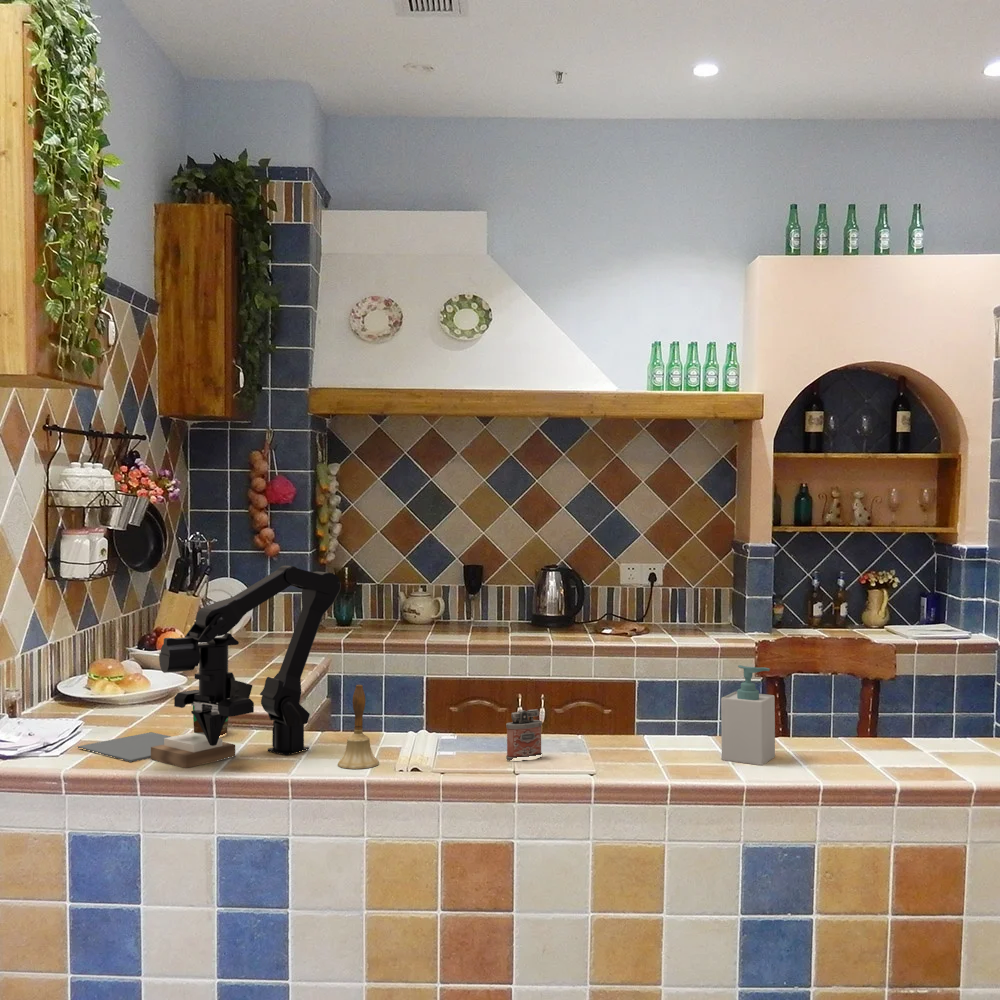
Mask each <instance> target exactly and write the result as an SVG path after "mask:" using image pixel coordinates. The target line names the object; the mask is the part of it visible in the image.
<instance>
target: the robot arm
mask: <svg viewBox="0 0 1000 1000" xmlns="http://www.w3.org/2000/svg"><path fill="white" fill-rule="evenodd" d="M341 585H342V583H341V582H340V579H339V577H338V576H337V575H336V574H335V573H333V572H326V571H325V572H324V571H308V570H304V569H301V568H298V567H296V566H293V565H281V566H280V567H278V568H277V569H276V570H275V571H273V572H272V573H270V574H269V575H266V576H264V578H261V579H260V580H258V581H256V582H255V583H254V584H252V585H250V586H249V587H247V588H246V589H243V590H242V591H240V592H239V593H237V594H236V595H233V596H231V597H229V598H225V599H222V600H219V601H215V602H213V603H210V604H208V605H205V606H203V607H201V608H200V609H199V610H198V611H197V613H196V618H195V622H194V623H193V624H192V625H191V627H190V628H189V630H188V631H187V633H186V634H185V636H184V637H175V638H174V637H164V638H163V644H161V645H162V646H161V648H160V651H159V652H160V653H159V654H158V661H159V666H160V670H161V672H163V673H164V674H166V673H177V672H189V671H194V670H195V668H196V667H198V670H199V671H198V673H197V672H196V673H194V679H195V680H198V689H192V690H191V689H190V690H185V691H179V692H177V694H176V695H175V696H174V698H173V699H174V701H173V703H174V705H173V706H174V707H175V708H181V709H182V708H185V707H186V705H191V704H195V710H194V711H193V710H191V713H190V714H192V715H193V714H194V716H195V718H196V719H197V721H198V723H199V724H200V726H201V728H202V730H203V732H204V734H205V736H206V738H207V740H208V742H209V744H210V745H211V746H215V745H217V742H218V739H219V736H220V733H221V731H222V728H223V725H224V723H225V721H226V719H227V718H228V719H229V718H230V717H237V716H241V715H247V714H252V713H253V714H254V710H255V705H254V704H255V703H254V701H253V700H252V699H251V698H250V696H251V693H252V690H253V687H254V686H253V684H250V683H247V682H243V681H240V680H236V678H235V675H234V674H233V672H231V671H229V646H238V645H240V644H239V640H237V639H236V638H234V637H233V635H232V634H231V633H230V631H231V630H232V629H234V628H235V626H237V625H238V624H239V623H240V622H241V620H243V617H244V616H246V615H247V614H248V613H249V612H250V611H252V610H254V609H255V608H257V607H258V606H260V605H262V604H263V603H265V602H266V601H268V600H269V599H272V597H275V596H277V595H278V594H279V593H281V592H282V591H284V590H285V589H288V588H289V587H290V586H291V587H294V588H297V589H300V590H301V595H300V596H301V611H300V614H299V616H298V618H297V621H296V625H295V627H294V630H293V633H292V635H291V638H290V641H289V644H288V647H287V649H286V651H285V655H284V657H283V661H282V663H281V666H280V669H279V671H278V672H277V673H276V675H274V677H270V676H266V679H265V680H264V681H265V682H264V687H263V689H262V690H261V692H260V693H259V695H260V696H261V699H260V705H261V706H262V708H263V710H264V711H265V712H266V713H267V714H268V717H269V720H271V721H273V723H272V725H273V727H272V736H271V737H272V745H271V746H272V747H269V748H267V752H270V751H271V753H274V752H275V753H276V754H279V753H280V754H279V755H283V754H285V755H284V756H289V755H288V754H290V755H293V754H292V753H294V754H297V753H296V752H298V753H300V752H299V751H302V750H306V749H309V750H310V747H309V746H305V725H306V724H307V725H308V721H309V720H310V719H309V718H310V715H311V714H310V713H309V711H308V710H306V709H305V708H304V707H303V706H302V704H301V703H300V702H301V697H302V683H301V682H302V675H303V672H304V669H305V667H306V665H307V661H308V658H309V655H310V654H311V653H310V652H311V649H312V647H313V644H314V641H315V639H316V636H317V632H318V630H319V628H320V624H321V622H322V618H323V617H324V615H325V613H326V612H328V610H329V609H330V608H331V607H332V605H333V604H335V601H336V599H337V597H338V595H339V593H340V591H341V589H342V588H341V587H342V586H341ZM228 698H230V699H228ZM217 703H218V704H217ZM306 751H307V750H306ZM302 752H303V751H302Z"/></svg>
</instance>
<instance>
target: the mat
mask: <svg viewBox="0 0 1000 1000" xmlns="http://www.w3.org/2000/svg"><path fill="white" fill-rule="evenodd" d="M168 737H172V736H171V735H167V734H162V733H157V732H152V731H150V732H145V733H139V734H134V735H130V736H129V735H128V736H124V737H119V738H113V739H109V740H104V741H99V742H93V743H88V744H82V745H77V747H78V748H83V749H86V750H90V751H94V752H98V753H101V754H104V755H108V756H112V757H115V758H119V759H123V760H125V761H124V762H127V761H129V762H128V763H133V762H132V761H135V762H138V761H137V760H139V761H143V760H142V759H144V760H148V759H151V747H154V746H159V745H164V738H168ZM104 755H103V756H104ZM108 756H107V757H108ZM112 757H111V758H112ZM115 758H114V759H115ZM147 758H148V759H147ZM119 759H118V760H119ZM123 760H122V761H123Z"/></svg>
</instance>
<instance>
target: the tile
mask: <svg viewBox="0 0 1000 1000" xmlns="http://www.w3.org/2000/svg"><path fill="white" fill-rule="evenodd" d="M222 742H223V738H219V739H218V742H217V745H215V746H211V745H210V744H209V742H208V740H207V738H206V736H205V735H202V734H197V733H194V732H189V733H185V734H179V735H175V736H174V735H173V736H171V737H168V738H164V746H168V747H172V748H177V749H181V750H185V751H190V752H198V751H202V750H207V749H212V748H216V747H221V746H222Z"/></svg>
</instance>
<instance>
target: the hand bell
mask: <svg viewBox="0 0 1000 1000" xmlns="http://www.w3.org/2000/svg"><path fill="white" fill-rule="evenodd" d="M363 687H364V686H363V684H356V685H355V689H354V691H353V695H352V710H353V714H354V727H353V729H354V730H353V734H352V735H350V736H349V737H347V738H346V739H347V740H346V746H345V751H344V753H343V756H342V757H341V759H340V760H338V762H337V766H338V767H339V768H343V769H351V770H356V769H357V770H362V769H370V768H374V767H376V766H379V764H380V762H379V760H378V758H377V757H376V756H375V755H374V754H373V751H372V748H371V740H370V737H369V736H368V735H366V734H364V733H363V729H364V728H363V726H364V724H363V723H364V722H363V717H364V711H365V707H366V694H365V690H364V688H363Z"/></svg>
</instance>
